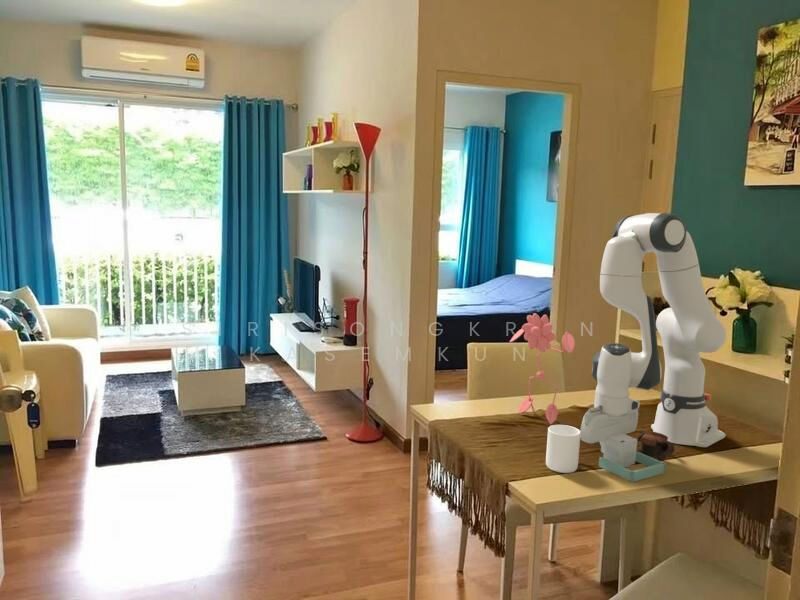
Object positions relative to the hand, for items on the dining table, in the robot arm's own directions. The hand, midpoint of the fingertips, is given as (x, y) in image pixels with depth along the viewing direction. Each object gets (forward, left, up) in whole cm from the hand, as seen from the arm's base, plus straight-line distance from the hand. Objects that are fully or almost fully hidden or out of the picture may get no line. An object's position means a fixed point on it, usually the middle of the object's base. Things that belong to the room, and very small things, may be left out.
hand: (606, 452), depth 178 cm
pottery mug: (-13, +6, -2) cm, 14 cm away
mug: (+14, -2, -2) cm, 14 cm away
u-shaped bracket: (0, +8, -2) cm, 9 cm away
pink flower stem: (-2, -33, -2) cm, 33 cm away
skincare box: (-1, +4, -2) cm, 4 cm away
